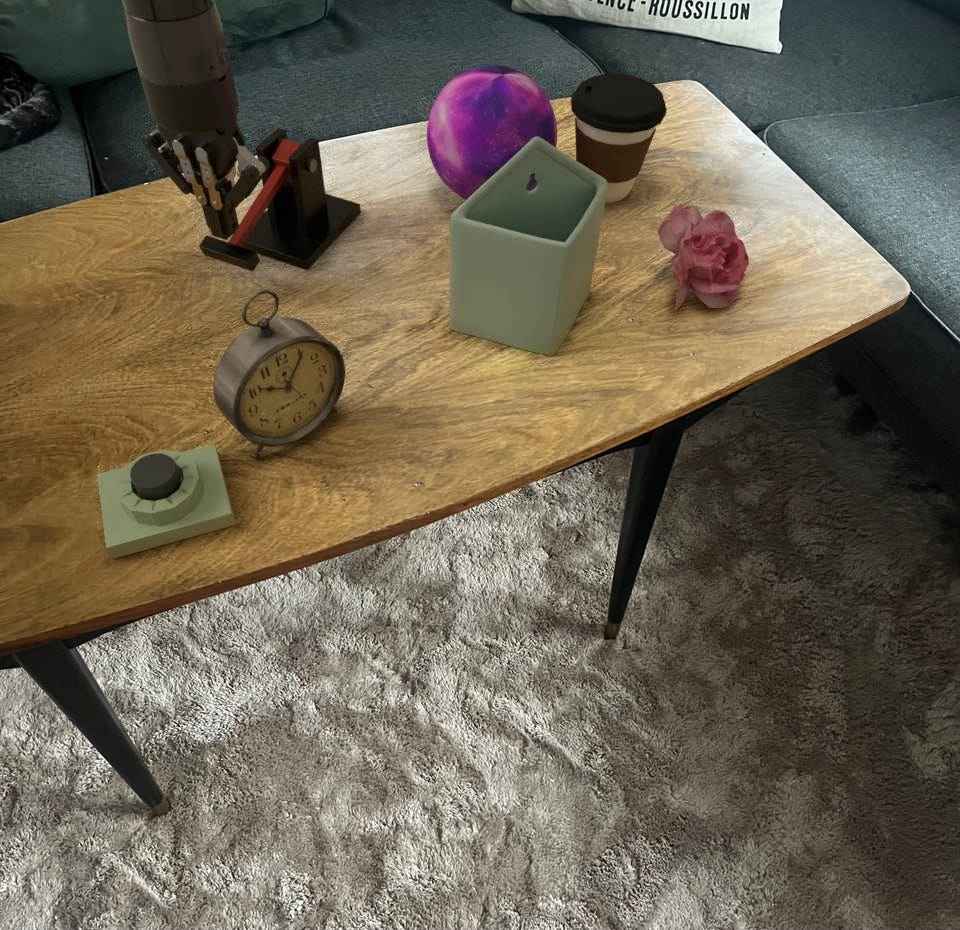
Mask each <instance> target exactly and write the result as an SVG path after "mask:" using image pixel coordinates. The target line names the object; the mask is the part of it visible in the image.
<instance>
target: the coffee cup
mask: <svg viewBox="0 0 960 930" xmlns="http://www.w3.org/2000/svg"><path fill="white" fill-rule="evenodd" d="M570 108H571V112H572V113H573V114H574V115H575V117H574V126H575V127H574V128H575V129H574V130H575V160H576V161H577V162H579V163H581V164H582V165H584V166H585V167H587V168H588V169H590V170H592V171H593V172H595V173H596V174H598V175H600V176H602V177H603V178H605V179H606V181H607V183H608V187H607V194H606V201H605V203H615V202H620V201H621V200H623V199H625V198H626V197H627V196H628V195H629V194H630V193H631V191H632V189H633V187H634V184H635V182H636V179H637V177H638V175H639V173H640V171H641V170H642V168H643V165H644V162H645V160H646V157H647V154H648V152H649V149H650V146H651V144H652V142H653V138H654V136H655V133H656V132H657V129H656V128H657V126H659V125H661V124H662V122H663V121H664V119H665V117H666V115H667V111H668V110H667V105H666V101H665V98H664V94H663V92H662V91H661V90H660V89H659V88H658V87H657V86H656V85H655V84H654V83H651V82H650V81H648V80H646V79H644V78H641V77H638V76H634V75H630V74H625V73H605V74H598V75H593V76H591V77H588V78H586V79H585V80H583V81H581V82H580V84H579V85H578V86H577V88H576V89H575V91H574V92H573V93H572V95H571V97H570Z"/></svg>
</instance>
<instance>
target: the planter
mask: <svg viewBox="0 0 960 930" xmlns="http://www.w3.org/2000/svg"><path fill="white" fill-rule="evenodd" d="M532 173H535V179H536V181H537V186H536V187H535V188H534V189H533V190H531V191H527V190H526V186H527V184H528V183H529V181H530V176H531V174H532ZM607 187H608V183H607V181H606V179H605V178H603V177H602V176H600V175H598V174H596V173H595V172H593V171H592V170H590V169H588V168H587V167H585V166H584V165H582V164H581V163H579V162H577V161H576V159H574V158H572V157H571V156H569V155H568V154H566V153H564V152H562V151H561V150H559V148H557V147H556V148H555V147H553V146H552V145H551V144H549V143H548V142H546V141H545V140H543V139H542V138H540V137H538V136H536V137H534V138H532V139H531V140H530V141H529V142H528V143H527V144H526V145H525V146H524V147H523V148H522V149H521V150H520V151H519V152H518V153H517V154H516V155H515V156H513V157H512V158H511V159H510V160H509V161H508V162H507V163H506V164H505V165H504V166H503V167H502V168H501V169H500V170H498V171H497V172H496V173H495V174H494V175H493V176H492V177H491V178H490V179H489V180H487V181H486V182H485V183H484V184H483V185H482V186H481V187H480V188H479V189H478V190H477V191H475V192H474V193H473V194H472V195H471V196H470V197H469V198H468V199H465V200H464V202H463V203H461V204H460V205H459V206H458V207H457V208H456V209H455V210H454V211H453V212H452V213H451V215H450V218H449V285H448V287H449V288H448V289H449V290H448V291H449V293H448V294H449V299H448V300H449V307H448V309H449V310H448V311H449V312H448V313H449V314H448V315H449V316H448V317H449V318H448V327H449V329H450V330H452V331H454V332H458V333H460V334H465V335H469V336H472V337H477V338H479V339H483V340H487V341H491V342H494V343H498V344H502V345H505V346H509V347H511V348H516V349H520V350H523V351H527V352H532V353H536V354H540V355H545V356H549V357H551V356H554V355H555V354H556V352H557V351H558V349H559V348H560V346H561V345H562V344H563V342H564V341H565V340H566V338H567V336H568V334H569V332H570V330H571V329H572V326H573V325H574V323H575V321H576V319H577V317H578V316H579V313H580V312H581V310H582V308H583V306H584V304H585V303H586V301H587V299H588V298H589V295H590V293H591V292H590V291H591V287H592V282H593V281H592V280H593V276H594V275H593V274H594V269H595V263H596V259H597V258H596V257H597V253H598V246H599V240H600V234H601V229H602V224H603V223H602V222H603V217H604V212H605V206H606V202H605V201H606V194H607Z"/></svg>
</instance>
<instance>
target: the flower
mask: <svg viewBox="0 0 960 930" xmlns="http://www.w3.org/2000/svg"><path fill="white" fill-rule="evenodd" d="M657 234H658V237H659V241H660V242H661V244H662V247H663V248H664V249H666V250H667V251H669V252H671V254H674V255H673V256H672V257H671V258H670V259H669V260H668V261H667V262H664V263H663V265H666V264H670V265H671V267H672V270H673V276H674V278H675V281H676V282H677V283H678V289H677V290H676V292H675V295H676V296H675V297H676V299H675V302H674V305H673V310H674V311H675V312H676V311H677V310H678V309H679V308H680V306H682V304H683V303H684V302H685V300H686V298H687V297H688V295H689V293H690V292H691V290H693V292H694V294H695V295H696V296H697V298H698V299H699V300H700V301H701V302H702V303H704V304H705V305H706V306H707V307H708V308H712V309H724V308H727V307H729V306H730V304H731V303H733V302H735V301H737V300H738V299H739V297H740V292H739V290H738V289H739V287H740V285H741V282H742V281H743V280H744V278H745V277H746V271H747V268H748V266H749V265H750V263H749V261H750V258H749V255H748V253H747V249H746V246H745V243H744V242H743V240H742V239H740V238H738V235H737V233H736V227H735V223H734V221H733V219H731V216H729V215H728V214H727V212H725V211H722V210H719V209H714V210H712V211H710V212H709V213H707V214H706V215H705V216H704V217H703V215H702V214H701V212H700V210H699V208H698V206H695V205H690V206H683V203H680V204H677V205H674V206H673V208H672V209H671V211H670V212H669V213H668V214H667V216H665V218H664V219H663V221H662V222H661V224H660V225H659V227H658V229H657ZM660 265H662V263H661V264H660V263H659V266H660ZM656 266H657V264H653V265H650V267H656Z"/></svg>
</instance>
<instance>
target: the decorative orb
mask: <svg viewBox="0 0 960 930" xmlns="http://www.w3.org/2000/svg"><path fill="white" fill-rule="evenodd" d="M557 124H558V123H557V119H556V114H555V111H554V108H553V106H552V103H551V101H550V100H549V97H548V96H547V94H546V93H545V91H544V90H543V89H542V87H541V86H540V85H539V84H538V83H537V82H536V81H535V80H534V79H533V78H531V77H530V76H529V75H527V74H526V73H524V72H522V71H521V70H518V69H516V68H513V67H510V66H507V65H502V64H486V65H485V64H483V65H479V66H478V65H477V66H475V67H472V68H469V69H466V70H465V71H463V72H461V73H459V74H458V75H456V76H455V77H454V78H452V79H451V80H450V81H449V82H448V83H447V84H446V85H444V87H443V89H442V90H440V92H439V94H438V95H437V97H436V99H435V101H434V102H433V105H432V106H431V110H430V113H429V117H428V122H427V127H426V143H427V149H428V150H427V151H428V154H429V158H430V161H431V164H432V166H433V168H434V171H436V173H437V175H438V177H439V178H440V179H441V181H442V182H443V183H444V184H445V186H446V187H448V189H450V190H451V191H452V192H453V193H455V194H456V195H458V196H459V197H461V198H462V199H464V200H467V199H468V198H469V197H470V196H471V195H472V194H473V193H474V192H475V191H477V190H478V189H479V188H480V187H481V186H482V185H483V184H484V183H485V182H486V181H487V180H489V179H490V178H491V177H492V176H493V175H494V174H495V173H496V172H497V171H498V170H500V169H501V168H502V167H503V166H504V165H505V164H506V163H507V162H508V161H509V160H510V159H511V158H512V157H513V156H515V155H516V154H517V153H518V152H519V151H520V150H521V149H522V148H523V147H524V146H525V145H526V144H527V143H528V142H529V141H530V140H531V139H532V138H534V137H536V136H538V137H540V138H542V139H543V140H545V141H546V142H548V143H549V144H551V145H552V146H553V147H555V148H556V149H557V146H558V145H557V144H558V125H557ZM536 186H537V181H536V179H535V173H532V174H531V176H530V181H529V183H528V184H527V186H526V190H527V191H531V190H533V189H535V187H536Z"/></svg>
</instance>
